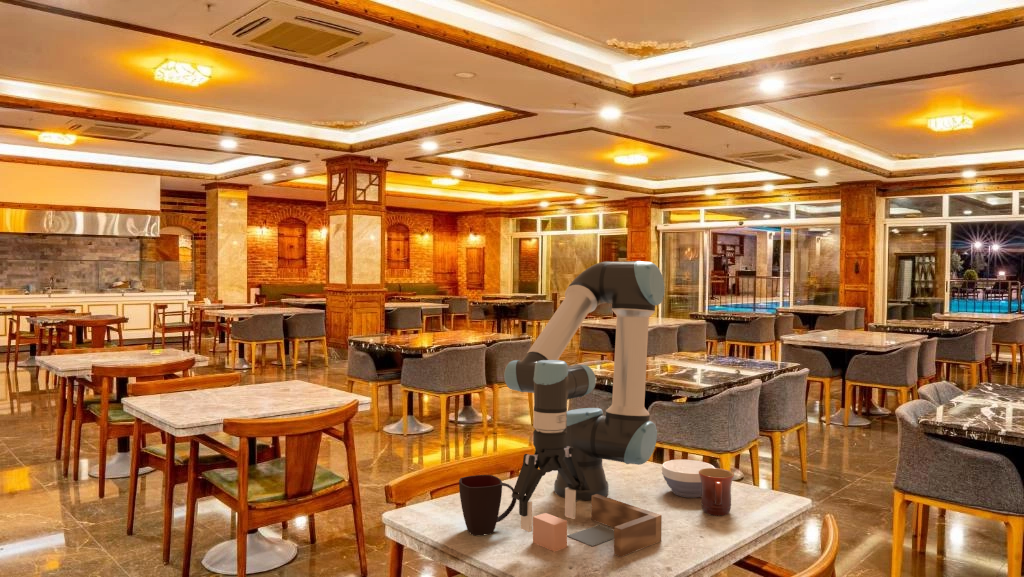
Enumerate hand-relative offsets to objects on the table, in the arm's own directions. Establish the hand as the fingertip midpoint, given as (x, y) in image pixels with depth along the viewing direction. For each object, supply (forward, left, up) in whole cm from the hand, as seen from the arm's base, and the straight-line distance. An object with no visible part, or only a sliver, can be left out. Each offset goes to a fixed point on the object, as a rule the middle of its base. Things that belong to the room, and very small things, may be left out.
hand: (548, 523), depth 160 cm
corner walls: (+5, +14, -5) cm, 16 cm away
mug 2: (+13, +46, -5) cm, 48 cm away
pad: (+3, +12, -5) cm, 14 cm away
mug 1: (-16, -5, -5) cm, 17 cm away
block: (0, 0, -5) cm, 5 cm away
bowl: (-2, +55, -5) cm, 56 cm away
